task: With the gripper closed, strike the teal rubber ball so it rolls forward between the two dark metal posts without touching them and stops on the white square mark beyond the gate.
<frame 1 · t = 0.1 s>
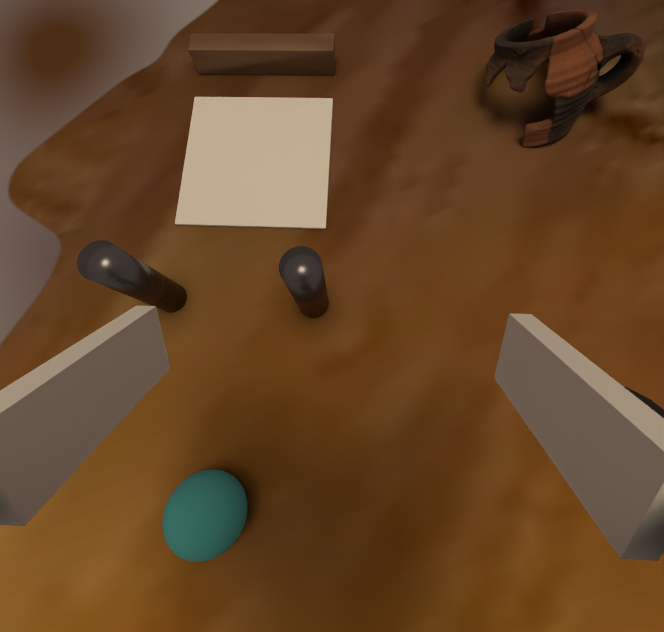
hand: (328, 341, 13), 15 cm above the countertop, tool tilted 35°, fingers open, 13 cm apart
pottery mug: (535, 106, 32), on the countertop
post 1: (172, 297, 29), on the countertop
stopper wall: (267, 66, 34), on the countertop
ball: (206, 512, 23), on the countertop
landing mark: (257, 160, 32), on the countertop
post 2: (313, 303, 29), on the countertop
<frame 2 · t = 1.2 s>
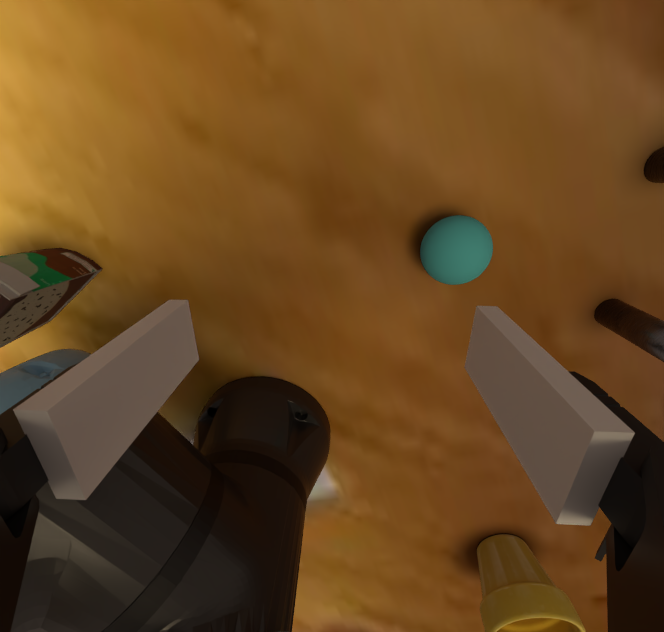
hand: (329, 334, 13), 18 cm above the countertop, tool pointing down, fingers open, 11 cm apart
post 1: (662, 164, 26), on the countertop
food container: (50, 272, 32), on the countertop
ball: (455, 250, 27), on the countertop
plant pot: (500, 547, 46), on the countertop
post 2: (609, 311, 31), on the countertop
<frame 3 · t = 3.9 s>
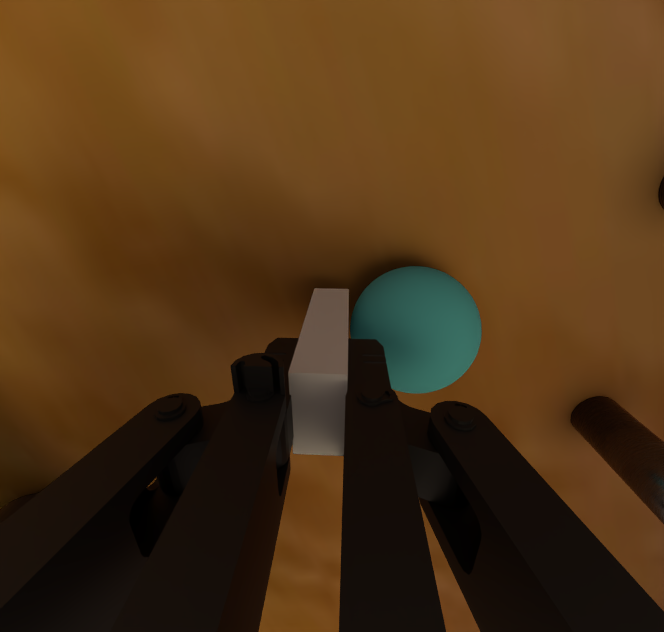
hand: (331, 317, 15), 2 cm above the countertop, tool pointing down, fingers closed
ball: (412, 329, 14), on the countertop
post 2: (594, 414, 19), on the countertop
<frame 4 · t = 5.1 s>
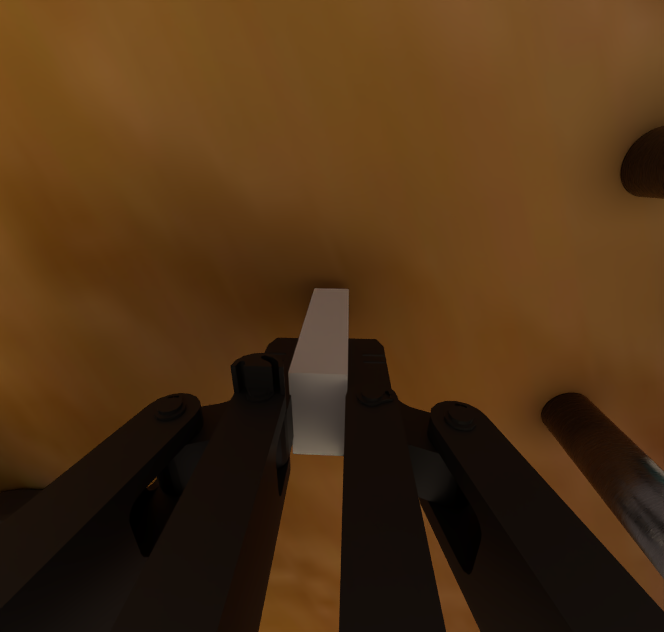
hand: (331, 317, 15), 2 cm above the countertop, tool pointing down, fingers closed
post 1: (656, 162, 13), on the countertop
post 2: (566, 412, 18), on the countertop
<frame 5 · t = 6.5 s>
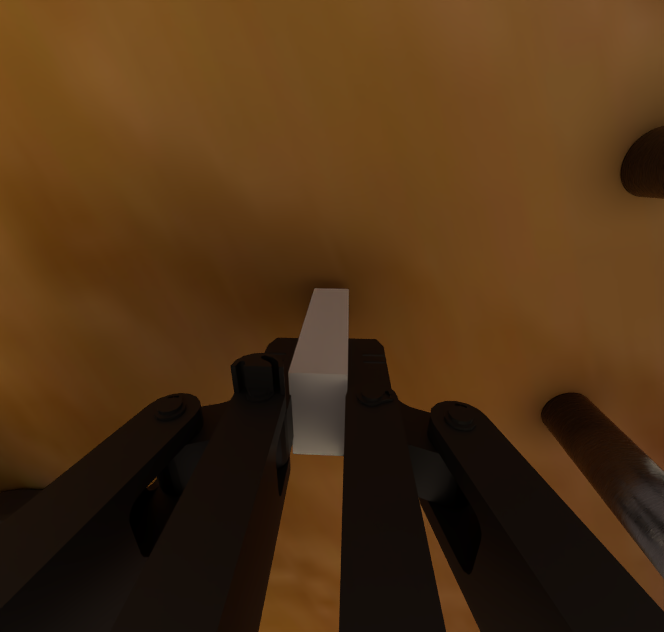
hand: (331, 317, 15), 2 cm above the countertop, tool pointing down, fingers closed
post 1: (656, 162, 13), on the countertop
post 2: (566, 412, 18), on the countertop
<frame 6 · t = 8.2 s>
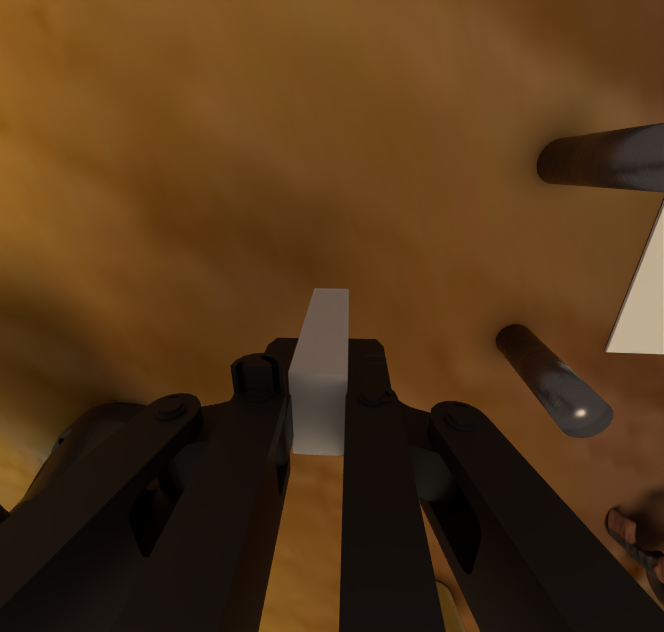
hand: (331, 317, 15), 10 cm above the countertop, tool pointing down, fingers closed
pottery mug: (655, 519, 33), on the countertop
post 1: (559, 161, 21), on the countertop
plant pot: (422, 592, 41), on the countertop
post 2: (513, 339, 26), on the countertop
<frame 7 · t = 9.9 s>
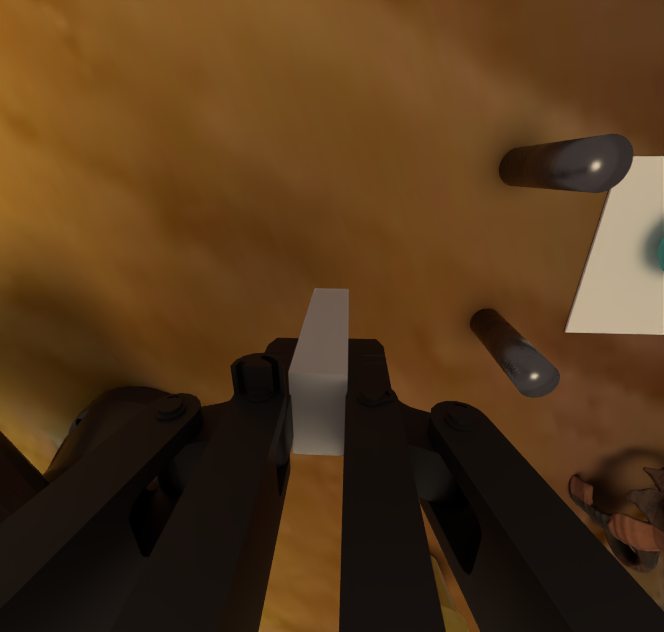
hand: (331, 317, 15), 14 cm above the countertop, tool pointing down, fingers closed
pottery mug: (612, 485, 37), on the countertop
post 1: (517, 167, 24), on the countertop
plant pot: (411, 563, 44), on the countertop
post 2: (485, 322, 29), on the countertop
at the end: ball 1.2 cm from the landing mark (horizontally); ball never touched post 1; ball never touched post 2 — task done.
